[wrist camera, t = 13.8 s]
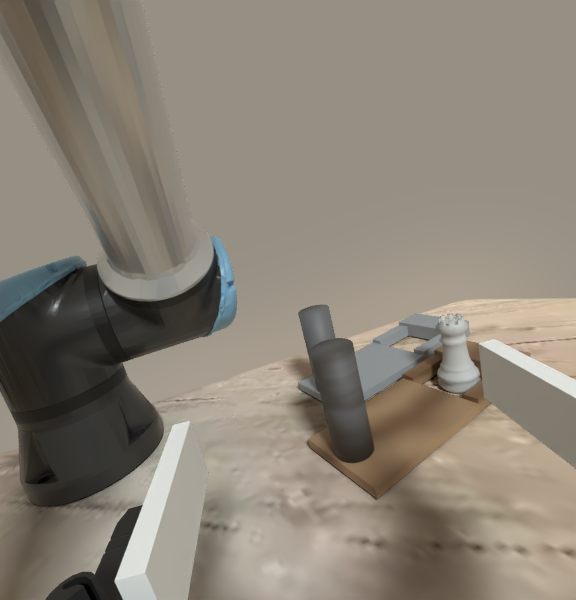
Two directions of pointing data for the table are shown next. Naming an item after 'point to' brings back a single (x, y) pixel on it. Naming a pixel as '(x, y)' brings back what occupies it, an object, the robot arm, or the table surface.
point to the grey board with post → (372, 349)
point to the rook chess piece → (455, 356)
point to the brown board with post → (386, 416)
